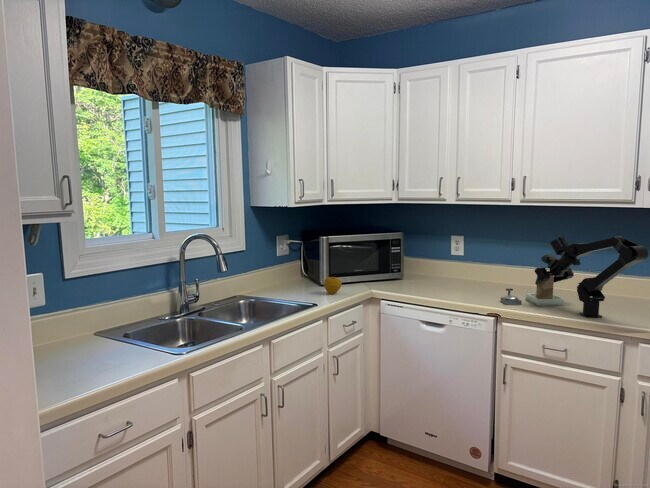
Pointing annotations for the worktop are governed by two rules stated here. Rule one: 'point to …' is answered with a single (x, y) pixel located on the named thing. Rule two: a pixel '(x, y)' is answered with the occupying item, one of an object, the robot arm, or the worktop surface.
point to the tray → (544, 300)
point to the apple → (332, 285)
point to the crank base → (511, 301)
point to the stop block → (545, 289)
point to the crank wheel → (510, 297)
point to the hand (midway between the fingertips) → (543, 283)
